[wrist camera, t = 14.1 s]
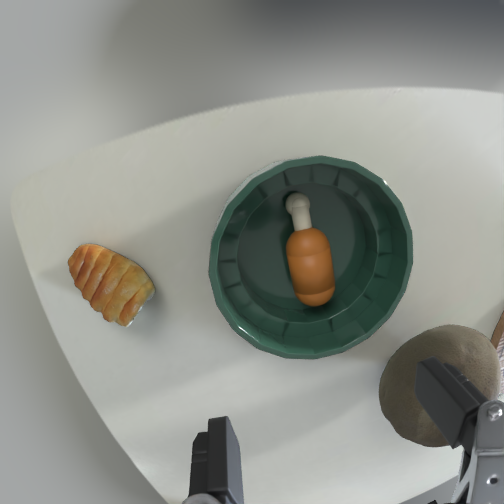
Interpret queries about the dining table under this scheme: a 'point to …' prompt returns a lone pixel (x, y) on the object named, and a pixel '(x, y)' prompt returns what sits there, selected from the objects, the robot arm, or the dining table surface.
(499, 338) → the trivet
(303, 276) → the drumstick
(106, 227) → the dining table surface
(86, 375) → the dining table surface
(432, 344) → the grey clay lump
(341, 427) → the dining table surface
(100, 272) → the pastry
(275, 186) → the green faceted bowl
